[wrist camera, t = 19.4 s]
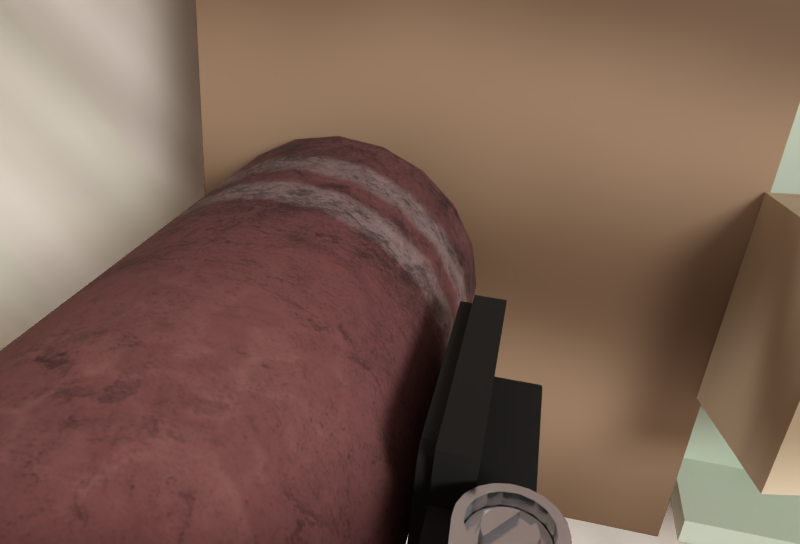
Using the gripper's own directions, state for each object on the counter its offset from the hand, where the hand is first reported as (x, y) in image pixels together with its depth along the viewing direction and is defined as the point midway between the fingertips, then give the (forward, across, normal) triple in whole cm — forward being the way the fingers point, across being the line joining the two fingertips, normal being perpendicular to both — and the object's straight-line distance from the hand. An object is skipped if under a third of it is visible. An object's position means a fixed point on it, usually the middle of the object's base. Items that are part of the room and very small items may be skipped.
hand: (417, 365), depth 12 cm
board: (+8, 0, 0) cm, 8 cm away
